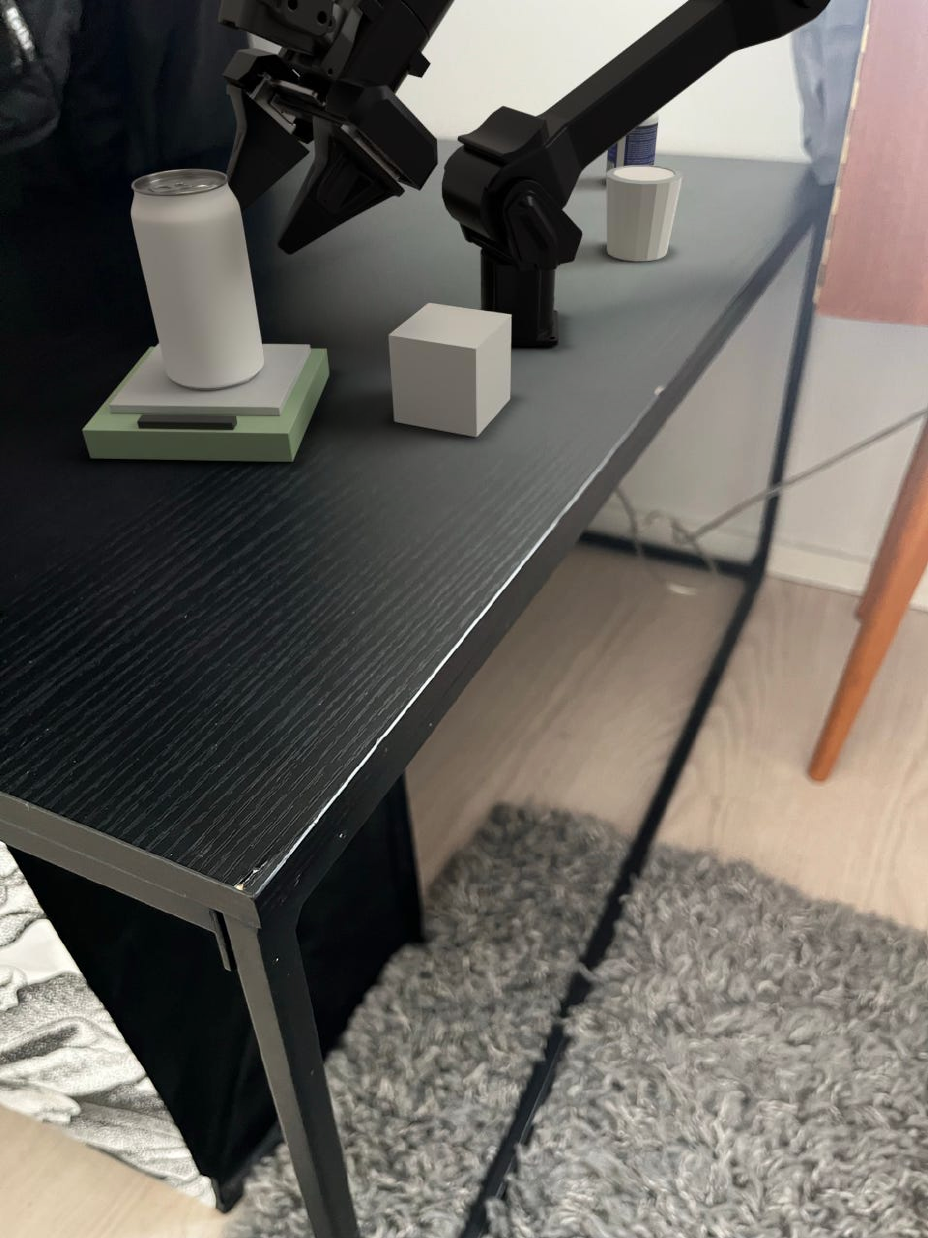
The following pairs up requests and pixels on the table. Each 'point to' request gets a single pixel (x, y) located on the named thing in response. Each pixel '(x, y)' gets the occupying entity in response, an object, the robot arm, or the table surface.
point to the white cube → (451, 368)
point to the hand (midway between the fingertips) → (251, 231)
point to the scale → (211, 412)
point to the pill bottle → (635, 146)
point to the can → (198, 277)
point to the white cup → (641, 210)
